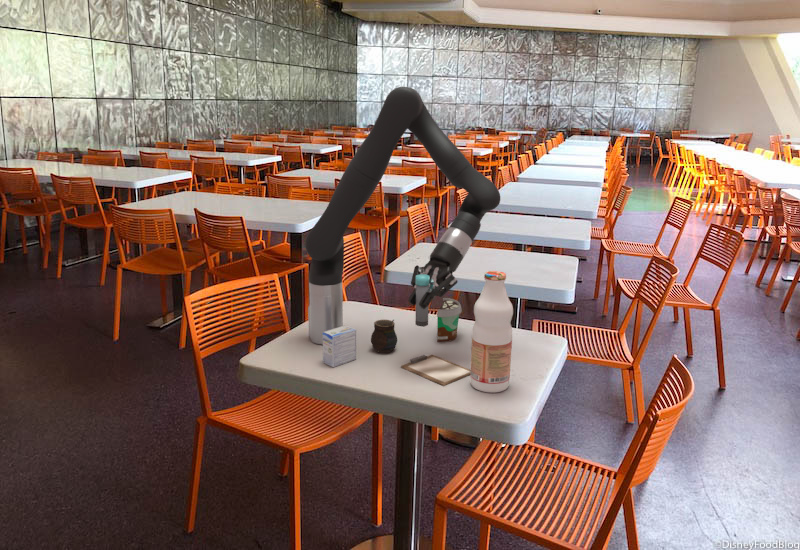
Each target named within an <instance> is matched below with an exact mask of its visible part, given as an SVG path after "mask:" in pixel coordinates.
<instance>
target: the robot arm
mask: <svg viewBox="0 0 800 550" xmlns="http://www.w3.org/2000/svg"><path fill="white" fill-rule="evenodd" d="M407 130H408V131H410V133H412V134H413V135H414V136H415V137H416V139H417V140H418V141H419V142H420V143H421V145H422V146H423V147H424V149H425V151H427V153H428V155H429V156H430V158H431V159H432V161H433V162H434V163H435V165H436V166H437V168H438V169H439V171H441V173H442V174H443V175H444V176H445V178H446V179H447V181H449V182H450V184H451V185H452V186H454V187H455V188H456V189H464V190H465V191H466V193H467V195H466V196H465V197H464V199H463V200H462V203H461V205H460V206H459V210H458V212H457V214H456V216H455V218H453V221H452V222H451V224H450V225H449V227H448V228H447V230H446V231H445V232H444V233H443V234H442V236H441V237H440V239H439V240H438V242H437V244H436V246H435V248H433V250H432V251H431V253H430V255H429V261H428V262H427V263H426V264H425V265H424V266H419V265H415V266H414V267H413V268H414V269H413V273H412V276H411V281H410V285H411V286H412V287H413V290H412V292H411V294H410V295H409V297H408V303H409V304H410V305H411V306H416V275H419V274H425V275H429V276H430V277H429V289H428V293H427V292H426V293H425V295H424V296H423V298H422V299H421V301H420V303H419V306H420V307H421V308H423V309H425V308H426V307H428V305H429V306H430V304H431V302H432V300H433V299H434V298H436V297H439V298H441V297H443V296H445V294H447V292H449V291H450V290H451V289H452V288H453V287H454V286H456V285H457V284H458V282H459V281H458V279H457V278H456V277H455V276H454V275H453V273H455V272H456V271H457V269H458V267H459V266H460V264H461V262H462V261H463V259H464V258H465V256H466V255H467V254H468V251H469V249H470V247H471V246H472V245H471V244H472V243H473V241H474V239H476V237H477V235H478V233H479V232H480V229H481V225H482V224H481V221H482V219H483V217H484V216H485V215H486V214H487V213H488V212H491V211H493V210H495V209H496V208H498V207H499V205H500V203H501V193H500V191H499V189H498V187H497V186H496V184H495V183H494V182H492V181H491V180H490V179H489V178H488V177H487V176H485V175H484V174H483V173H481V171H478V169H476V168H475V167H474V166H473V165H472V164H471V163H470V161H469V160H468V159H467V158H466V156H465V155H464V154H463V152H461V150H460V149H459V148H458V146H456V144H455V143H453V141H452V140H451V139H450V138H449V137H448V136H447V135H446V133H445V132H443V130H442V129H441V127H439V125H438V124H437V122H436V121H435V119H434V117H432V115H431V113H430V112H429V110H428V108H427V107H426V104H425V103H424V102H423V99H422V97H421V95H420V93H419V92H418V91H417V90H416V89H414V88H412V87H409V86H397V87H395V88H394V89H391V91H390V92H389V93H388V95H387V96H386V98H385V99H384V102H383V104H382V107H381V109H380V112H379V114H378V117H377V119H375V122H374V125H373V127H372V129H371V130H370V132H369V134H368V135H367V136H366V137H365V139H364V141H362V144H361V145H360V146H359V148H358V149H357V150H356V152H355V154H354V155H353V157H352V158H351V160H350V161H349V163H348V165H347V167H346V169H344V172H343V174H342V175H341V178H340V180H339V182H338V184H337V186H336V187H335V189H334V191H333V193H332V196H331V199H330V200H329V203H328V204H327V206H326V209H324V211H323V213H322V214H321V216H320V217H319V219H318V220H317V222H316V223H315V225H314V226H313V227H312V228H311V229H310V231H309V232H308V234H306V237H305V243H304V244H305V245H304V247H305V250H306V253H307V255H308V256H309V257H310V258H311V263H310V269H309V272H308V288H309V289H308V291H309V292H308V293H309V305H308V307H307V314H308V315H307V318H308V320H307V321H308V338H309V339H310V341H311V342H312V343H313V344H316V345H323V332H325V331H328V330H332V329H335V328H338V327H342V326H344V324H343V323H344V313H343V311H344V309H343V307H344V305H343V304H344V302H343V299H344V298H343V273H344V268H345V266H344V265H345V262H344V261H345V240H344V235H345V233H346V231H347V229H348V227H349V225H350V223H351V222H352V220H353V219H354V218H355V217H356V215H358V213H359V212H360V211H361V209H362V208H363V207H364V205H366V203H367V202H368V201H369V199H370V198H371V197H372V195H373V194H374V192H375V190H376V189H377V187H378V185H379V183H380V181H381V180H382V178H383V176H384V174H385V172H386V170H387V168H388V166H389V163H390V161H391V158H392V155H393V153H394V150H395V148H396V146H397V144H398V143H399V141H401V138H402V137H403V136H404V134H405V133H406V131H407Z"/></svg>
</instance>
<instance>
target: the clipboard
mask: <svg viewBox="0 0 800 550" xmlns="http://www.w3.org/2000/svg"><path fill="white" fill-rule="evenodd" d="M400 368H401V369H403V370H406V371H408V372H410V373H413V374H415V375H418V376H420V377H422V378H424V379H427V380H429V381H432V382H433V383H435V384H437V385H439V386H443V387H446V386H447V385H450V384H452V383H454V382H457V381H459V380H462V379H464V378H467V377H468V376H470V373H471V368H470V369H469V368H467V367H464V366H462V365H460V364H457V363H455V362H452V361H449V360H447V359H445V358H442V357H440V356H437V355H434V354H429V355H425V354H422V355H420V356H417V357H415V358H410V361H409V362H407V363H406V364H405V363H404V364H402V365H400Z"/></svg>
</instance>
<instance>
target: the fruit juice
mask: <svg viewBox="0 0 800 550" xmlns="http://www.w3.org/2000/svg"><path fill="white" fill-rule="evenodd" d="M506 279H507V274H506V272H503V271H499V270H488V271H486V272H485V273H484V281H485V283H484V285H483V288H482V290H481V293H480V295H479V297H478V299H477V300H476V301H475V304H474V306H473V314H474V318H475V319H474V320H475V321H474V323H473V326H472V331H471V332H472V333H471V351H470V352H471V354H470V355H471V356H470V357H471V358H470V370H471V373H470V375H469V376H470V377H469V378H470V379H469V380H470V381H469V382H470V385H471V387H472V388H473V389H475V390H478V391H480V392H484V393H492V394H494V393H501V392H504V391H505V390H507V389H508V387H509V385H510V380H511V379H510V376H511V361H512V360H511V359H512V345H513V327H512V324H511V321H512V319H513V315H514V308H513V303H512V302H511V301H510V297H509V296H508V292H507V290H506V285H505V282H506Z"/></svg>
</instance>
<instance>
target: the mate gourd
mask: <svg viewBox="0 0 800 550" xmlns="http://www.w3.org/2000/svg"><path fill="white" fill-rule="evenodd" d="M394 321H395V319H392V320H391V319H378V320H376V321H374V322H373V325H374V326H373V327H374V329H373V331H372V333H371V337H370V343H371V346H372V348H373V350H374V351H376V352H377V353H381V354H386V353H387V354H388V353H390V352H392V351H393V350H394V349H395V348H396V347H397V343H398V336H397V334H396V330H395V322H394Z"/></svg>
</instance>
